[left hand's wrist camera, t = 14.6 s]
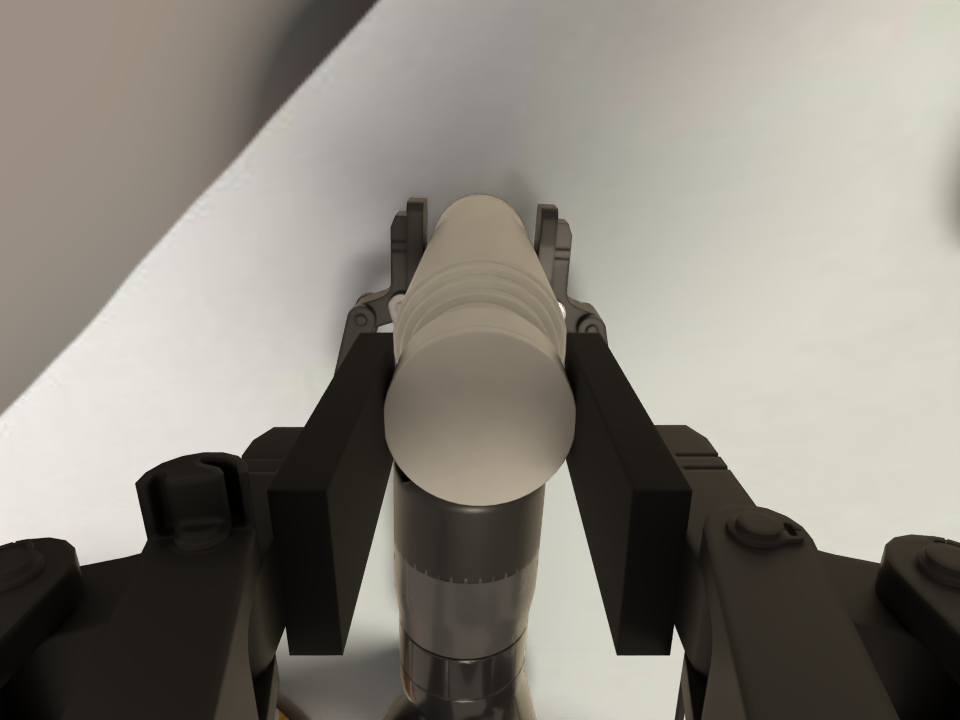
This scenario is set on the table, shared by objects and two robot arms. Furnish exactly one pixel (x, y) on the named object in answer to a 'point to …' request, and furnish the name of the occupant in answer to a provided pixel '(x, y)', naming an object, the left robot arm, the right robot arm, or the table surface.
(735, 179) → the table surface
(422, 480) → the cap
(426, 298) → the bottle
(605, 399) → the left robot arm
